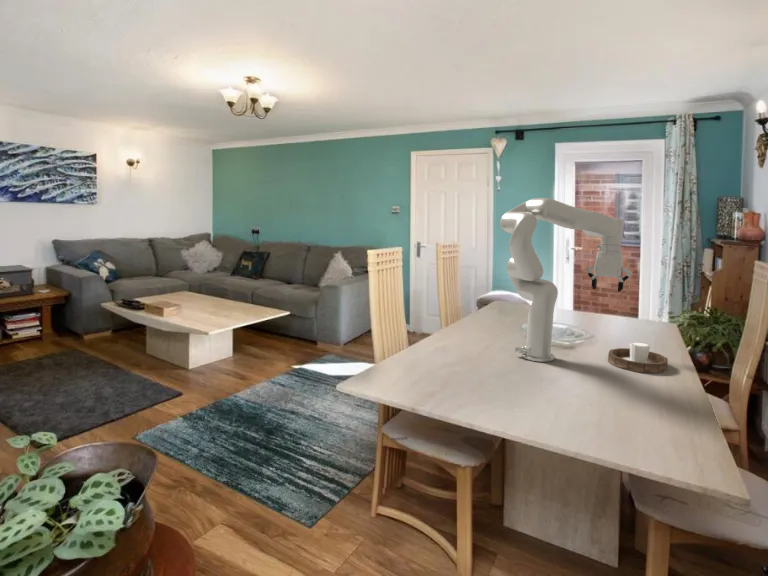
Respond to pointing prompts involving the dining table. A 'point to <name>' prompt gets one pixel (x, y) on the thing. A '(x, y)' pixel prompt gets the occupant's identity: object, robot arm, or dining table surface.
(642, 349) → the white cup
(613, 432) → the dining table surface
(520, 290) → the robot arm
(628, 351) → the round wooden tray
